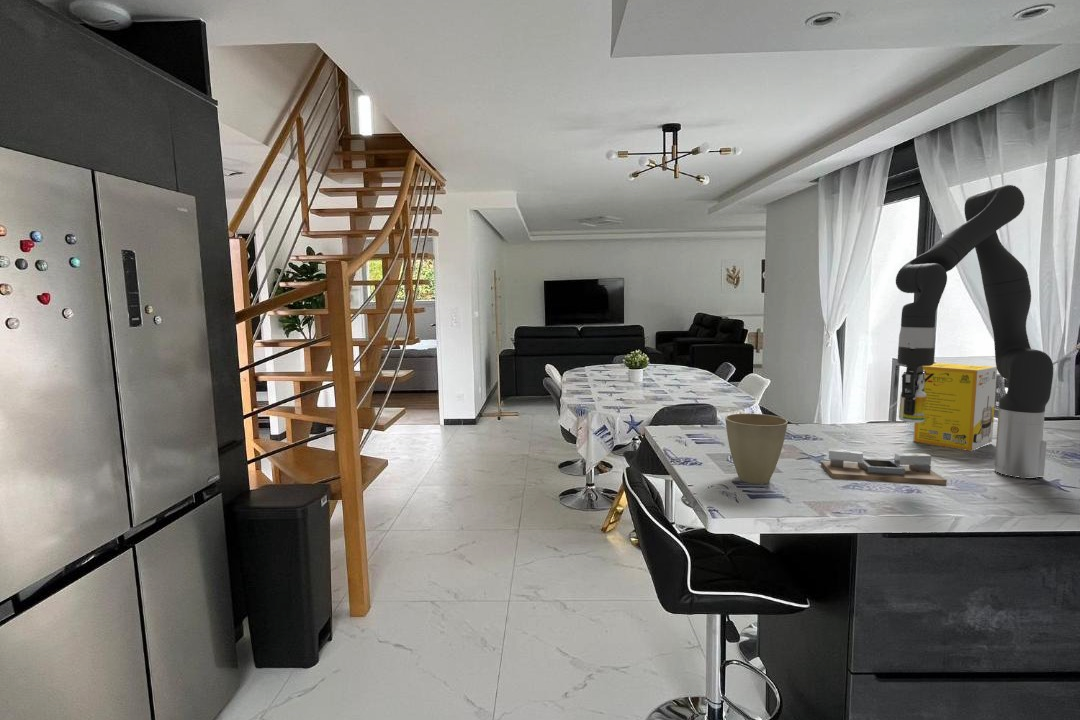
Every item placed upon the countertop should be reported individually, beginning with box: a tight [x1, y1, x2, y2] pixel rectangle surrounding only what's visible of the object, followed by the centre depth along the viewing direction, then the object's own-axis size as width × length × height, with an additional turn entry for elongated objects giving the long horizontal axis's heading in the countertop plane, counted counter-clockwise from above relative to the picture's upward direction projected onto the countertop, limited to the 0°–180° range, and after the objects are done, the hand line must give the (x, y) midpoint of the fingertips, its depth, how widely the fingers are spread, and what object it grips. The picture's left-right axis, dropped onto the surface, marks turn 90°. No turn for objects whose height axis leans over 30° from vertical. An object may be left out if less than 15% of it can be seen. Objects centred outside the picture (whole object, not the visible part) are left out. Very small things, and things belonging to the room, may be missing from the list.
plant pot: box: [724, 412, 789, 485], centre depth 146 cm, size 15×15×16 cm
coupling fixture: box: [828, 448, 932, 476], centre depth 151 cm, size 24×9×4 cm, turn 77°
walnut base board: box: [820, 461, 948, 486], centre depth 151 cm, size 26×12×1 cm, turn 77°
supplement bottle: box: [898, 383, 926, 424], centre depth 142 cm, size 5×5×10 cm
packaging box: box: [912, 362, 998, 451], centre depth 184 cm, size 16×16×25 cm
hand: (911, 412), depth 143 cm, fingers closed on supplement bottle, 5 cm apart
